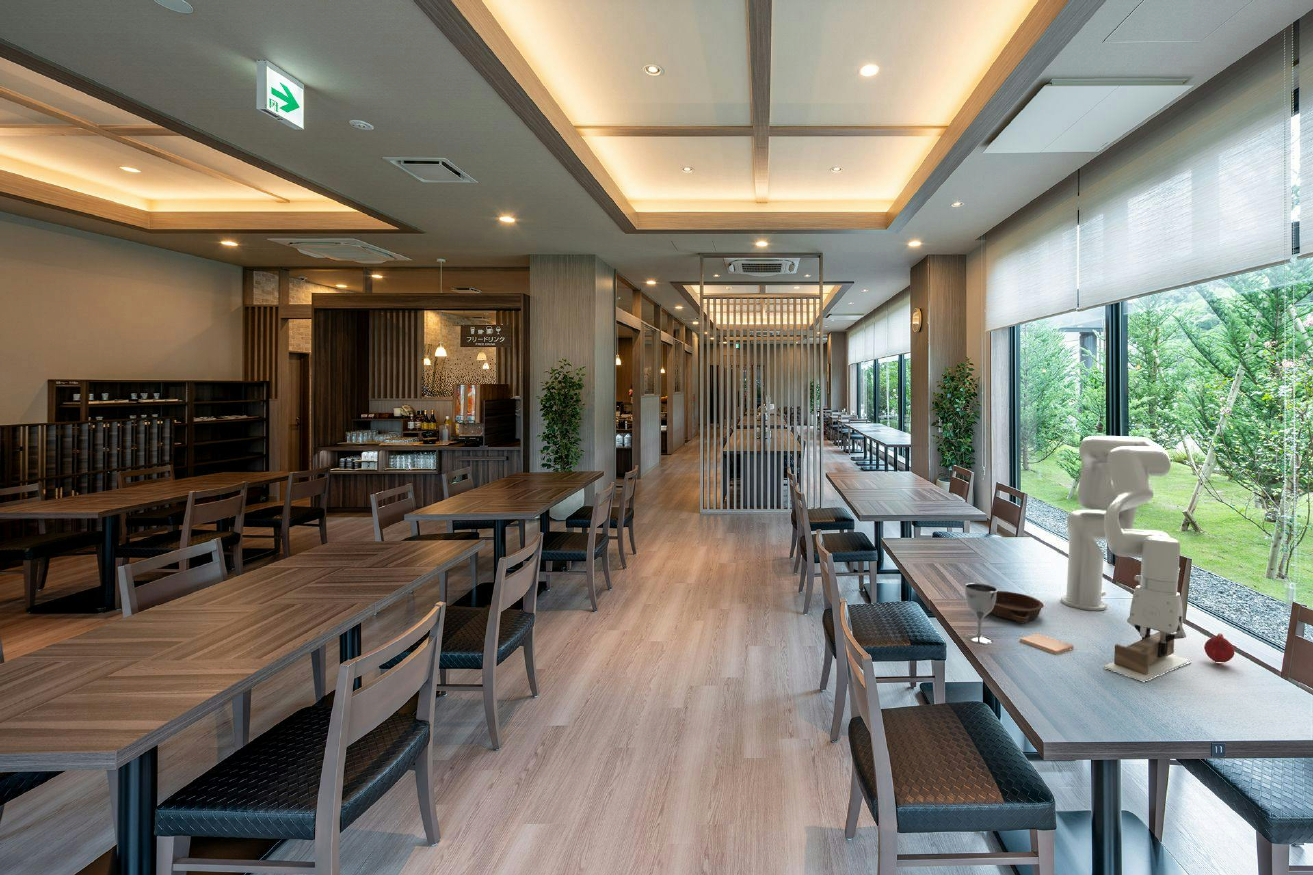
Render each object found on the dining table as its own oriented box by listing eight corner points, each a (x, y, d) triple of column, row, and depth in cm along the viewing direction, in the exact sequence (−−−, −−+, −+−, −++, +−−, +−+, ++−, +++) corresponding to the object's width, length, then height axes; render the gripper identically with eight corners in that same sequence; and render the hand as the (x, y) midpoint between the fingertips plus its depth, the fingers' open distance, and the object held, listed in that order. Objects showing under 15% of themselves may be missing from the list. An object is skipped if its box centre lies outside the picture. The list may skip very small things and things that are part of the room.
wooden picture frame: (1037, 633, 181) (1020, 638, 177) (1073, 645, 172) (1056, 651, 169) (1036, 637, 181) (1019, 642, 177) (1073, 650, 172) (1056, 656, 169)
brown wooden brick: (1151, 646, 170) (1152, 628, 169) (1182, 655, 164) (1183, 637, 163) (1114, 663, 161) (1114, 644, 160) (1146, 674, 155) (1146, 654, 154)
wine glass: (982, 646, 173) (985, 593, 172) (957, 636, 181) (959, 585, 179) (1000, 641, 177) (1003, 589, 176) (975, 631, 184) (977, 581, 183)
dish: (988, 623, 192) (989, 607, 191) (972, 600, 213) (973, 586, 212) (1053, 629, 187) (1054, 613, 187) (1030, 605, 208) (1031, 590, 208)
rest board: (1150, 650, 172) (1150, 647, 172) (1190, 663, 164) (1191, 660, 164) (1103, 668, 160) (1103, 665, 160) (1144, 682, 152) (1144, 679, 152)
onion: (1235, 670, 160) (1238, 639, 159) (1206, 665, 163) (1208, 634, 162) (1230, 662, 165) (1232, 632, 164) (1201, 657, 168) (1203, 627, 167)
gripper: (1115, 578, 167) (1111, 645, 169) (1189, 595, 153) (1184, 669, 154) (1130, 574, 171) (1126, 640, 172) (1204, 591, 157) (1198, 663, 158)
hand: (1153, 653), depth 163 cm, fingers closed on brown wooden brick, 2 cm apart
